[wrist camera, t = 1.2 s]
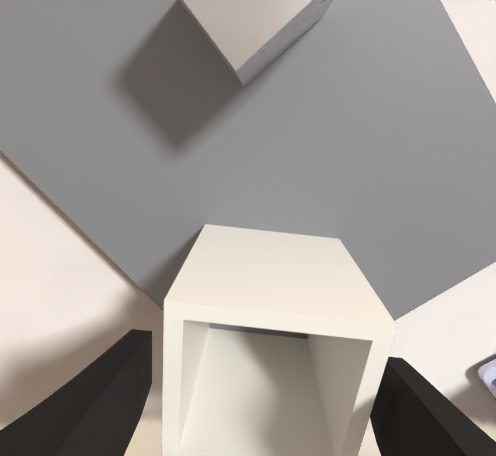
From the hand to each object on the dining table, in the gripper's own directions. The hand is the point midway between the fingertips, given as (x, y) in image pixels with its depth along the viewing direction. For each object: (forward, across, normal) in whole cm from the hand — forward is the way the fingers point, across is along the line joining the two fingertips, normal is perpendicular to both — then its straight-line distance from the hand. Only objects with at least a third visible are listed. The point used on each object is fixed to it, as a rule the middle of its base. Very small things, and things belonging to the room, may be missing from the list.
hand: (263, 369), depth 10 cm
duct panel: (+6, +1, -6) cm, 9 cm away
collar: (+5, 0, 0) cm, 5 cm away
